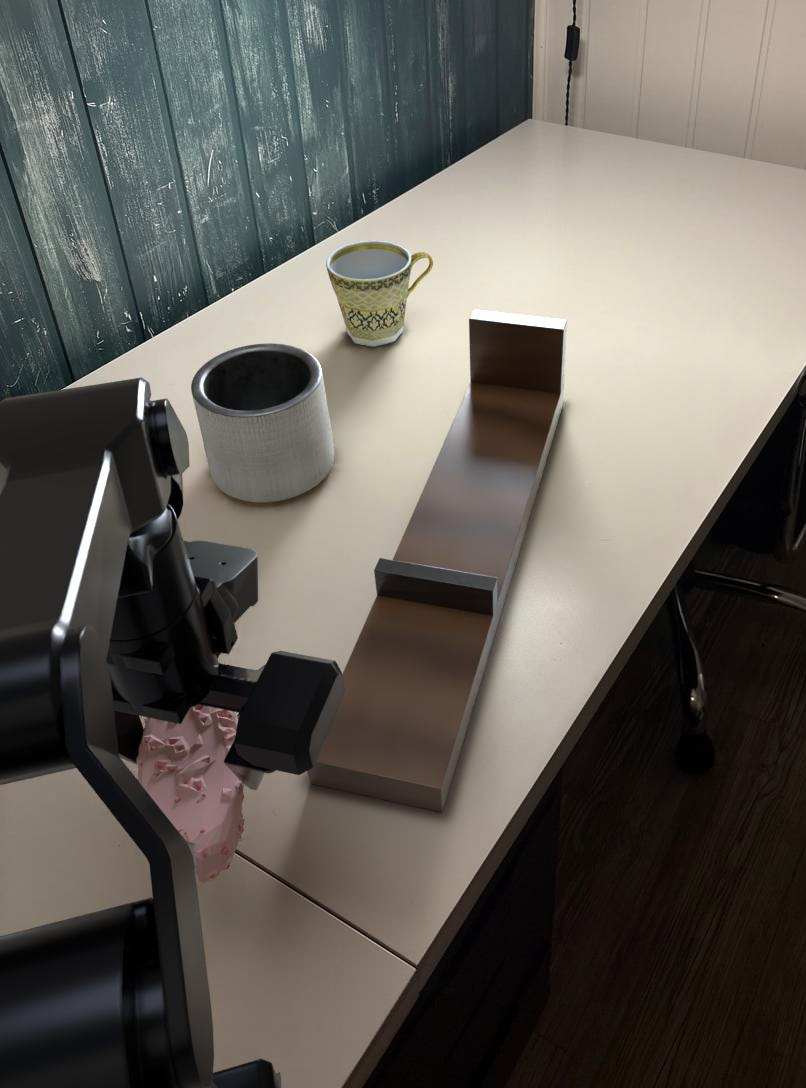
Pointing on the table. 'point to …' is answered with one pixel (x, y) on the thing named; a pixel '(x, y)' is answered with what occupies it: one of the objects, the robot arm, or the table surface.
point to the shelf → (449, 574)
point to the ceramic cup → (373, 288)
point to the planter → (264, 421)
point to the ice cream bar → (196, 783)
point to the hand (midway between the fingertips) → (199, 770)
